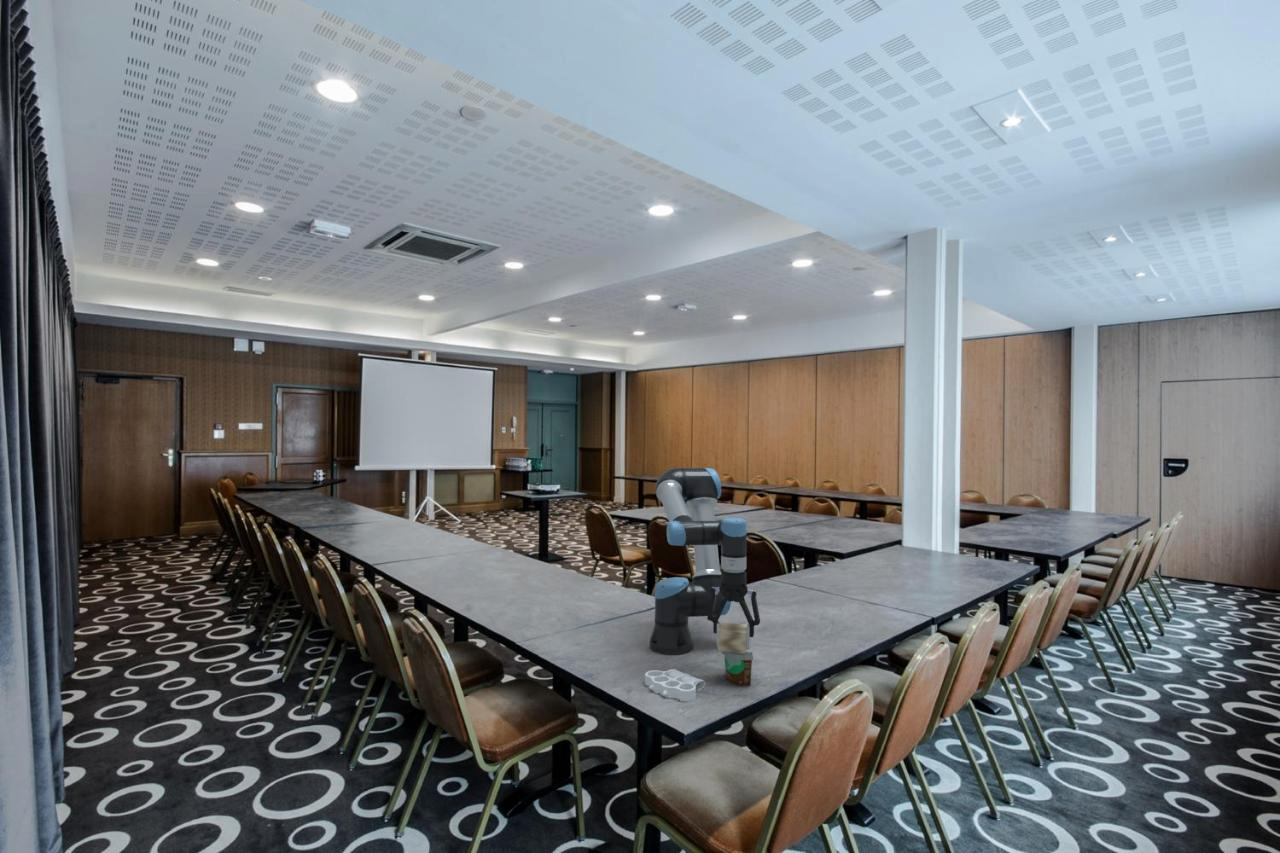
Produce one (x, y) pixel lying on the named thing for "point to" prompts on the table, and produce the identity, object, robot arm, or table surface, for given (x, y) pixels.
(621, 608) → the table surface
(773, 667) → the table surface
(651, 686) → the white brass knuckles
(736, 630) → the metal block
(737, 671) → the food container
